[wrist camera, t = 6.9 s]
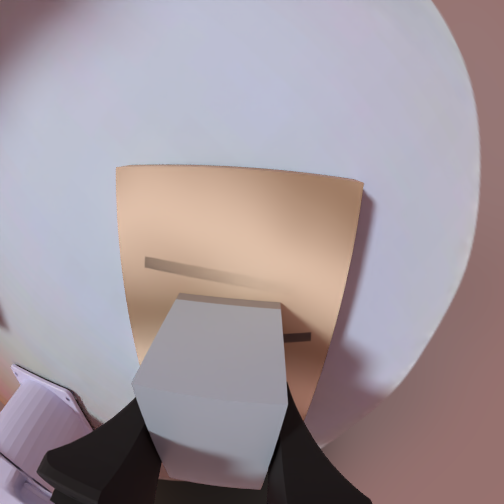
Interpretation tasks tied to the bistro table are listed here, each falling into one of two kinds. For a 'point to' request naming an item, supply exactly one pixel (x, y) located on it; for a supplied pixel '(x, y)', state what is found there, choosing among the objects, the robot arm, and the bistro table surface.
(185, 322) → the block
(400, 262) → the bistro table surface
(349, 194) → the board
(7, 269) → the bistro table surface
